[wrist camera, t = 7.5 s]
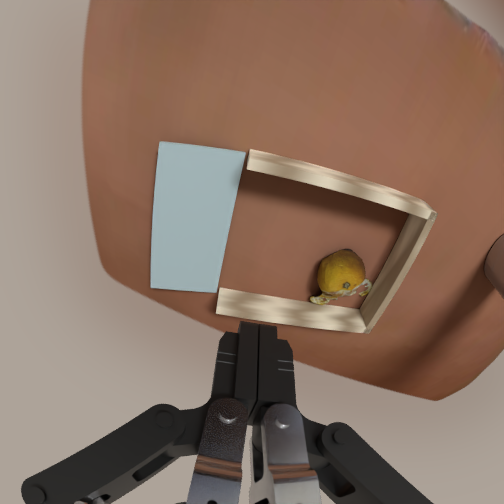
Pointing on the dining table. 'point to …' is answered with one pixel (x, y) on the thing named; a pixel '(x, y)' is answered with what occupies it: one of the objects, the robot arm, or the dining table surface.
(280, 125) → the dining table surface
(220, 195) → the panel
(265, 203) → the dining table surface
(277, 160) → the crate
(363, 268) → the fruit
